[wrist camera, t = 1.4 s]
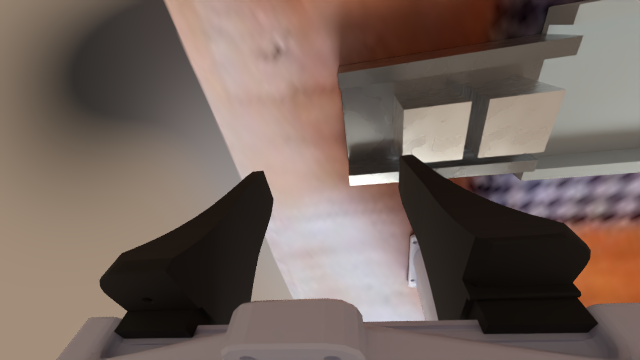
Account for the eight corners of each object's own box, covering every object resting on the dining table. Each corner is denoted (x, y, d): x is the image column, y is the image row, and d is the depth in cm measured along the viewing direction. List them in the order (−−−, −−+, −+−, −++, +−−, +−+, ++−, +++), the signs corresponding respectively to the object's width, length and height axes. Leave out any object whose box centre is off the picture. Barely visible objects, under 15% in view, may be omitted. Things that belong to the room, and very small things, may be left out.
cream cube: (443, 136, 20) (462, 159, 17) (393, 142, 21) (402, 164, 17) (448, 87, 18) (472, 101, 15) (393, 94, 19) (403, 110, 15)
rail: (508, 151, 21) (534, 171, 18) (349, 165, 24) (350, 185, 21) (541, 33, 16) (583, 35, 14) (339, 66, 19) (337, 73, 16)
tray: (678, 151, 20) (717, 166, 18) (504, 165, 22) (520, 180, 20) (811, -40, 14) (896, -52, 11) (549, 6, 16) (580, 4, 14)
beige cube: (509, 129, 19) (543, 152, 16) (455, 135, 20) (477, 157, 17) (523, 76, 17) (566, 89, 14) (463, 85, 18) (490, 99, 14)
